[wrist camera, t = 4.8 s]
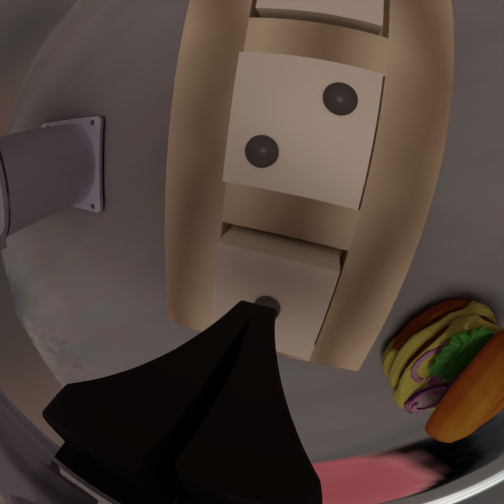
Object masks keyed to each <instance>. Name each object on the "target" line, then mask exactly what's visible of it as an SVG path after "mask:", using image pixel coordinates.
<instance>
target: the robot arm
mask: <svg viewBox="0 0 504 504" xmlns="http://www.w3.org/2000/svg"><path fill="white" fill-rule="evenodd" d="M102 141H103V118H102V117H101V116H95V117H85V118H77V119H69V120H62V121H55V122H49V123H43V124H42V126H41V128H39V129H33V130H28V131H23V132H18V133H14V134H9V135H5V136H1V137H0V251H1V250H3V249H5V248H6V247H7V245H6V237H8V236H10V235H12V234H13V233H15V232H17V231H19V230H21V229H23V228H25V227H27V226H29V225H31V224H33V223H35V222H37V221H39V220H41V219H43V218H46V217H48V216H50V215H52V214H54V213H56V212H59V211H61V210H63V209H66V208H68V207H70V206H71V207H75V208H79V209H84V210H88V211H92V212H96V213H99V212H101V211H102V210H103V191H102ZM94 206H95V207H94ZM276 315H277V311H276V309H275V308H271V307H267V306H263V305H259V304H255V303H251V302H247V301H243V300H242V301H240V302H238V303H237V304H236V305H235V306H234V307H233V308H232V309H230V310H229V311H228V312H227V313H226V314H225V315H223V316H222V317H221V318H220V319H219V320H217V321H216V322H215V323H213V324H212V325H211V326H209V327H208V328H207V329H206V330H204V331H203V332H201V333H200V334H198V335H197V336H195V337H194V338H192V339H191V340H189V341H188V342H186V343H185V344H183V345H181V346H180V347H178V348H176V349H174V350H172V351H171V352H169V353H167V354H165V355H163V356H161V357H159V358H157V359H154V360H152V361H150V362H148V363H145V364H143V365H141V366H138V367H135V368H133V369H130V370H127V371H124V372H120V373H117V374H114V375H111V376H107V377H103V378H99V379H94V380H89V381H84V382H78V383H71V384H67V385H66V386H65V387H64V388H63V389H62V390H61V391H60V392H59V393H58V394H57V395H56V397H55V398H54V399H53V400H52V401H51V402H50V403H49V405H48V406H47V407H46V408H45V409H44V411H43V412H42V413H43V417H44V419H45V420H46V421H47V423H48V424H49V425H50V426H51V427H52V428H53V429H54V430H55V431H56V433H58V435H59V436H60V437H61V438H62V439H63V440H64V441H65V442H64V444H63V445H62V446H61V448H60V447H59V446H58V445H56V444H55V443H54V442H53V441H51V440H50V439H49V438H48V437H47V436H46V435H45V434H44V433H42V432H41V431H40V430H39V429H38V428H37V427H36V426H35V425H34V424H33V423H32V422H31V421H30V420H29V419H28V418H27V417H26V416H25V415H24V414H23V413H22V412H21V411H20V410H19V409H18V408H17V407H16V406H15V405H14V404H13V403H12V401H11V400H10V399H9V398H8V397H7V396H6V395H5V394H4V392H3V391H2V390H1V389H0V494H1V495H2V497H3V498H4V500H5V502H4V504H97V503H98V500H97V499H95V498H94V497H93V496H91V495H90V494H88V493H87V492H86V491H85V490H83V489H82V488H80V487H79V486H77V485H76V484H74V483H73V482H71V481H70V480H69V479H67V478H66V477H64V476H63V475H62V474H61V473H60V468H59V466H60V467H61V468H62V469H63V470H64V471H66V472H67V473H69V474H70V475H71V476H72V477H74V478H75V479H76V480H78V481H79V482H81V483H82V484H83V485H85V486H86V487H87V488H89V489H90V490H92V491H93V492H95V493H97V494H98V495H100V496H101V497H103V498H104V499H106V500H107V501H109V502H111V503H112V504H322V490H321V483H320V479H319V477H318V475H317V474H316V472H315V470H314V468H313V466H312V464H311V462H310V460H309V458H308V456H307V454H306V452H305V450H304V448H303V446H302V443H301V441H300V439H299V436H298V434H297V431H296V428H295V426H294V423H293V420H292V418H291V415H290V412H289V409H288V406H287V402H286V399H285V395H284V392H283V388H282V383H281V379H280V374H279V368H278V362H277V355H276V345H275V319H276Z"/></svg>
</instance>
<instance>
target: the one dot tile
mask: <svg viewBox="0 0 504 504" xmlns="http://www.w3.org/2000/svg"><path fill="white" fill-rule="evenodd" d="M339 273H340V260H339V250H337V249H333V248H329V247H325V246H321V245H317V244H313V243H308V242H304V241H300V240H296V239H291V238H287V237H283V236H278V235H274V234H270V233H265V232H261V231H256V230H252V229H247V228H243V227H238V226H234V225H233V226H232V227H231V228H230V229H229V230H228V231H227V232H226V233H225V234H224V235H223V236H222V237H221V238H220V239H219V240H218V241H217V245H216V257H215V270H214V285H213V300H212V317H211V325H212V324H213V323H215V322H216V321H217V320H219V319H220V318H221V317H222V316H223V315H225V314H226V313H227V312H228V311H229V310H230V309H232V308H233V307H234V306H235V305H236V304H237V303H238V302H240V301H242V300H243V301H247V302H251V303H255V304H259V305H263V306H267V307H271V308H275V309H276V311H277V315H276V319H275V345H276V351H277V352H281V353H285V354H289V355H293V356H297V357H302V358H306V359H308V358H309V356H310V353H311V351H312V349H313V346H314V343H315V341H316V338H317V336H318V333H319V331H320V328H321V325H322V323H323V320H324V317H325V314H326V312H327V309H328V306H329V303H330V300H331V297H332V295H333V292H334V289H335V286H336V283H337V280H338V277H339Z"/></svg>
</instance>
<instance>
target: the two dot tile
mask: <svg viewBox="0 0 504 504" xmlns="http://www.w3.org/2000/svg"><path fill="white" fill-rule="evenodd" d="M382 80H383V74H381V73H378V72H374V71H371V70H367V69H363V68H359V67H355V66H351V65H346V64H342V63H337V62H332V61H326V60H321V59H315V58H308V57H301V56H293V55H284V54H274V53H260V52H239V57H238V64H237V70H236V77H235V84H234V91H233V98H232V105H231V113H230V120H229V128H228V136H227V145H226V153H225V162H224V171H223V180H222V181H224V182H230V183H236V184H241V185H247V186H252V187H257V188H263V189H268V190H273V191H278V192H283V193H287V194H292V195H297V196H301V197H306V198H310V199H315V200H319V201H323V202H327V203H332V204H336V205H340V206H344V207H348V208H352V209H356V210H358V207H359V203H360V199H361V195H362V191H363V187H364V183H365V178H366V174H367V169H368V164H369V160H370V155H371V150H372V145H373V139H374V134H375V128H376V122H377V116H378V110H379V103H380V96H381V88H382Z"/></svg>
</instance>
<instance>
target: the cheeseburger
mask: <svg viewBox="0 0 504 504" xmlns="http://www.w3.org/2000/svg"><path fill="white" fill-rule="evenodd" d="M382 365H383V371H384V373H385V375H386V376H388V377H389V384H390V386H391V388H392V389H393V390H394V393H393V395H392V397H393V399H394V401H395V402H396V403H397V404H398V406H399V407H400V408H402V409H405V411H407V412H409V413H419V412H423V411H426V410H431V409H435V410H434V412H433V413H432V415H431V416H430V418H429V419H428V421H427V424H426V426H425V431H426V432H427V433H428V434H429V435H430V436H431V437H433V438H435V439H437V440H438V441H442V442H447V443H451V442H454V441H456V440H459V439H461V438H463V437H466V436H467V435H469V434H471V433H472V432H474V431H475V430H476V429H477V428H478V427H479V426H481V425H482V424H484V423H485V422H486V421H488V420H489V419H490V418H492V417H493V416H494V415H495V414H497V413H498V412H499V411H500V410H501V409H502V408H503V407H504V330H503V328H502V327H501V326H497V322H496V319H495V316H494V314H493V312H492V311H491V309H490V308H489V307H488V306H486V305H484V304H482V303H478V302H475V301H471V302H470V301H468V300H466V299H449V300H447V301H445V302H442V303H440V304H438V305H436V306H434V307H431V308H429V309H428V310H427V311H425V312H424V313H422V314H421V315H420V316H418V317H417V318H415V319H414V320H412V321H411V322H410V323H409V324H408V325H407V326H406V327H405V328H404V329H403V330H402V331H401V332H400V333H399V334H398V336H397V337H396V338H394V339H393V340H392V341H391V342H390V343H389V345H388V346H387V348H386V350H385V352H384V354H383V357H382Z"/></svg>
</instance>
